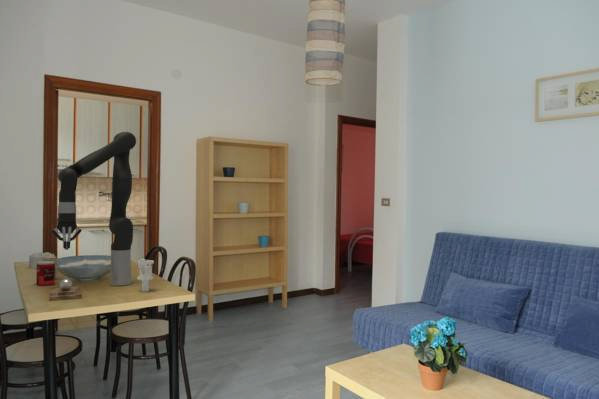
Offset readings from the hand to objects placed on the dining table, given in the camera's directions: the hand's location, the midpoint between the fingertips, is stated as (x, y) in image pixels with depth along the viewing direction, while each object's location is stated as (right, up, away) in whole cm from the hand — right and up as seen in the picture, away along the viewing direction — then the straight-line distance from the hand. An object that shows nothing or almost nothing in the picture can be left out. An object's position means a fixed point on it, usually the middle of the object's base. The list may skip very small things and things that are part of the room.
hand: (66, 249), depth 213 cm
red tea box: (-21, -18, +23) cm, 36 cm away
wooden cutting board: (+5, -19, -10) cm, 22 cm away
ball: (+3, -15, -7) cm, 17 cm away
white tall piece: (+36, -20, +1) cm, 41 cm away
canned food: (-16, -19, +11) cm, 27 cm away
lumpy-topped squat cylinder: (-46, -18, +62) cm, 79 cm away
